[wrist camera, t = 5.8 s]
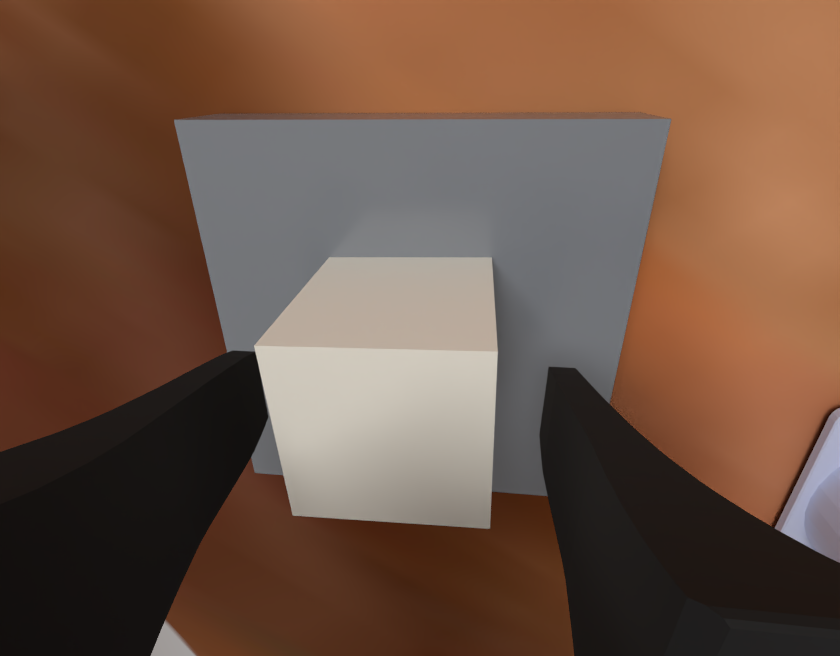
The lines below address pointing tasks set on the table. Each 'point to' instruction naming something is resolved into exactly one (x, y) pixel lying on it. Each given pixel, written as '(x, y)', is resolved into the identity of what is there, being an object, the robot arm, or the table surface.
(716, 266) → the table surface
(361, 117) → the plate
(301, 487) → the block
